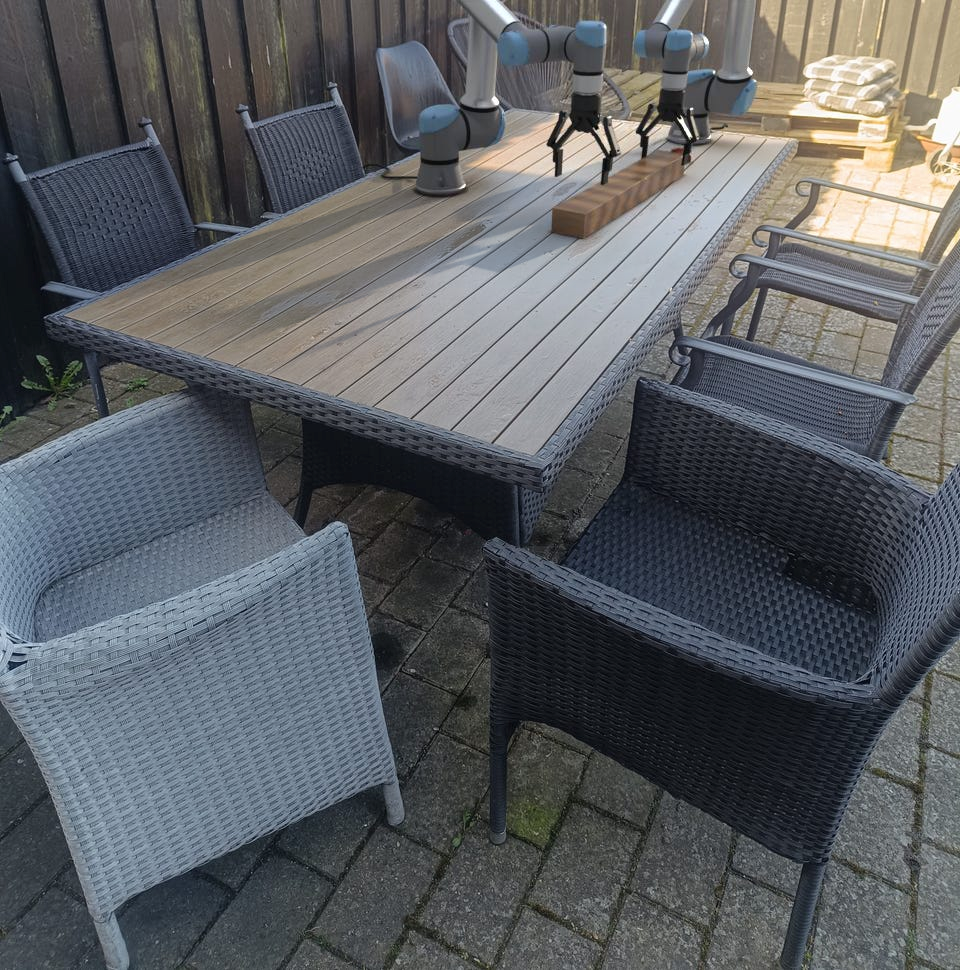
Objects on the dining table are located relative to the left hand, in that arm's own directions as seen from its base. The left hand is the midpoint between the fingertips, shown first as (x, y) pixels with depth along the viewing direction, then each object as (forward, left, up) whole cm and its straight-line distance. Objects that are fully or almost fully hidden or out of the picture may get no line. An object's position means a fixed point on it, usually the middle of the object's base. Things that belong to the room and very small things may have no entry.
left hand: (580, 179), depth 222 cm
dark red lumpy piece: (-11, +79, -13) cm, 81 cm away
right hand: (-6, +58, -8) cm, 59 cm away
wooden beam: (-3, +29, -13) cm, 32 cm away
